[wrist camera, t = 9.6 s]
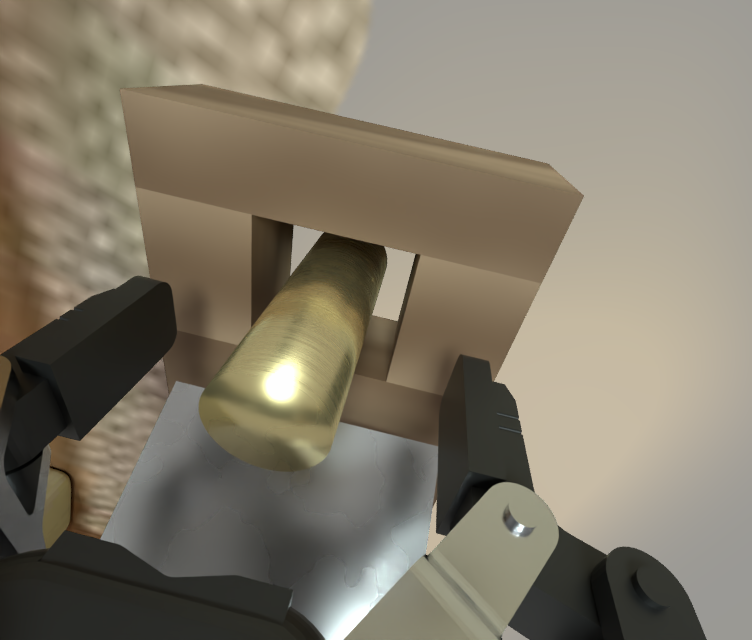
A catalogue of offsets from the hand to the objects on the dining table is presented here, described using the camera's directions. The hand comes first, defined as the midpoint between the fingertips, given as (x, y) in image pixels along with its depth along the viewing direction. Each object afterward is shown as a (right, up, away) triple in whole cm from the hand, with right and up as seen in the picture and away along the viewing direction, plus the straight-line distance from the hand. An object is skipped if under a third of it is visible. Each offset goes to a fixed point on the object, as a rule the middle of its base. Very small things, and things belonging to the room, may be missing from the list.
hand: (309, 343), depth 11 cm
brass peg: (+1, +3, +5) cm, 6 cm away
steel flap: (-2, -7, +2) cm, 8 cm away
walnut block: (0, -1, +8) cm, 8 cm away
